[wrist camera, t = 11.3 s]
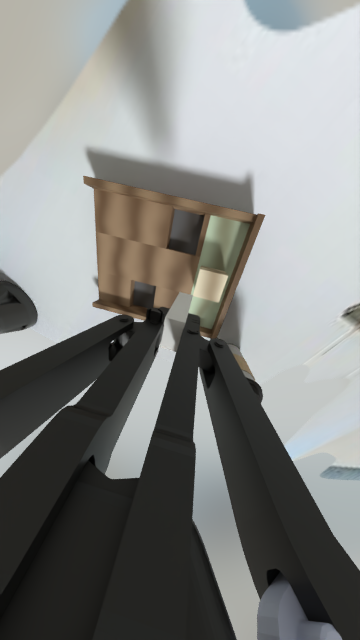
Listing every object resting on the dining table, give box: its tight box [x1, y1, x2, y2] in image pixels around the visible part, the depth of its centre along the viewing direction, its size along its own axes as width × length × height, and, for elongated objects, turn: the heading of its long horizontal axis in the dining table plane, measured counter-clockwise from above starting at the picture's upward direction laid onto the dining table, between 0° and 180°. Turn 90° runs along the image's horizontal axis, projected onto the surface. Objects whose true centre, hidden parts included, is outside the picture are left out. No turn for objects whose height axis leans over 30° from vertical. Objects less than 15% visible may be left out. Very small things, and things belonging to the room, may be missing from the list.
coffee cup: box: [227, 344, 263, 404], centre depth 35 cm, size 9×9×15 cm
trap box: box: [83, 176, 265, 339], centre depth 32 cm, size 30×24×6 cm
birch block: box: [193, 266, 228, 303], centre depth 29 cm, size 5×5×5 cm
